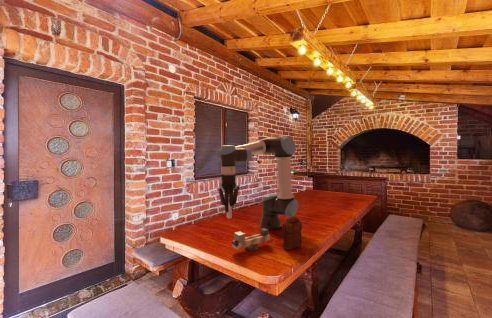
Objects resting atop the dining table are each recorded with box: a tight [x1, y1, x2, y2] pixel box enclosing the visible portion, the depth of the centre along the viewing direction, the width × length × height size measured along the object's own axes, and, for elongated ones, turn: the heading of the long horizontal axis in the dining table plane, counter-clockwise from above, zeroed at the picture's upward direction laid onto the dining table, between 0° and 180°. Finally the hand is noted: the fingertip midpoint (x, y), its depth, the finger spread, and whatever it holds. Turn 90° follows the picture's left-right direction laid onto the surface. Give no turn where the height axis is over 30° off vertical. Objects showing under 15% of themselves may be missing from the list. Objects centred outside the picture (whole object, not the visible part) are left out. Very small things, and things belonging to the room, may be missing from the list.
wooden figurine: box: [281, 215, 303, 250], centre depth 146 cm, size 12×6×18 cm, turn 123°
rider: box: [233, 230, 246, 242], centre depth 140 cm, size 4×5×5 cm
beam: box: [231, 228, 271, 252], centre depth 145 cm, size 23×6×9 cm, turn 124°
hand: (229, 217), depth 136 cm, fingers closed
